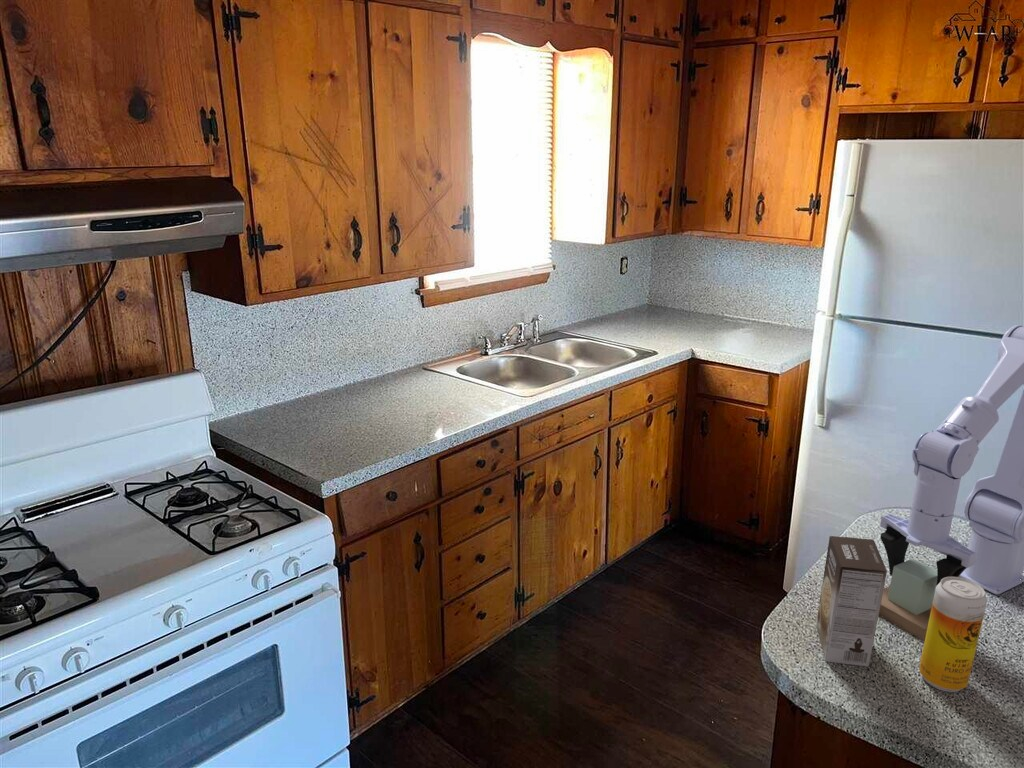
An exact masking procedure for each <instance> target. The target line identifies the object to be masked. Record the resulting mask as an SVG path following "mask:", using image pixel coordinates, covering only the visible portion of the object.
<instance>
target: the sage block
mask: <svg viewBox="0 0 1024 768" xmlns="http://www.w3.org/2000/svg"><path fill="white" fill-rule="evenodd" d="M889 584H890V585H889V586H890V588H889V594H888V600H890V601H892V602H894V603H896V604H897V605H899V606H901V607H903V608H905V609H906V610H908V611H910V612H912V613H913V614H915V615H918V614H920V613H922V612H924V611H926V610H928V609H931V608H932V603H933V599H934V594H935V589H936V584H937V568H933V567H932V566H929V565H927V564H926V563H924V562H921V561H919V560H918V559H915V558H911V559H908V560H906V561H905V560H904V562H903V563H901V564H898V565H896V566H894V568H893V573H892V576H891V578H890V583H889Z"/></svg>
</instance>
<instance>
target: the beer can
mask: <svg viewBox="0 0 1024 768" xmlns="http://www.w3.org/2000/svg"><path fill="white" fill-rule="evenodd" d="M987 603H988V599H987V595H986V591H985V589H984V588H982V587H981V586H980V585H978V584H977V583H975V582H973V581H970V580H967V579H964V578H961V577H945V578H943V579H942V580H941V581H940V583H939V584H938V585H937V586H936V589H935V594H934V599H933V603H932V608H931V613H930V618H929V623H928V628H927V632H926V637H925V639H924V643H923V647H922V654H921V657H920V663H919V668H918V669H919V672H920V675H921V676H922V678H923V680H924V681H925V682H926V683H927V684H929V685H930V686H931V687H933V688H934V689H937V690H939V691H943V692H947V693H957V692H959V691H961V690H963V689H965V688H966V687H968V685H969V681H970V678H971V677H970V675H971V672H972V668H973V664H974V660H975V655H976V650H977V646H978V642H979V637H980V634H981V630H982V625H983V620H984V616H985V611H986V608H987Z"/></svg>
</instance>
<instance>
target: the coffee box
mask: <svg viewBox="0 0 1024 768" xmlns="http://www.w3.org/2000/svg"><path fill="white" fill-rule="evenodd" d="M828 539H829V540H828V545H827V552H826V557H825V565H824V569H823V570H824V571H823V576H822V577H823V578H822V585H821V589H820V597H819V604H818V611H817V615H816V623H815V624H816V626H815V627H816V631H817V635H818V638H819V641H820V646H821V649H822V653H823V657H824V661H825V662H827V663H836V664H842V665H843V664H844V665H853V666H859V667H860V666H861V667H869V666H870V662H871V657H872V652H873V646H874V642H875V641H874V640H875V635H876V631H877V624H878V620H879V616H880V615H879V611H880V606H881V601H882V595H883V590H884V588H885V584H886V579H887V573H888V570H887V568H886V566H885V563H884V561H883V559H882V556H881V553H880V552H879V548H878V546H877V544H876V543H875V539H869V538H859V537H848V536H834V535H829V537H828Z"/></svg>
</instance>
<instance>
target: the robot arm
mask: <svg viewBox="0 0 1024 768" xmlns="http://www.w3.org/2000/svg"><path fill="white" fill-rule="evenodd" d="M997 359H998V360H997V361H998V362H997V363H996V364H995V366H994V367H993V369H992V370H991V371H990V373H989V374H988V376H987V377H986V379H985V381H984V382H983V383H982V385H981V386H980V388H979V389H978V391H977V392H976V393H975V395H973V396H972V395H971V396H965V397H963V398H962V399H961V400H960V401H959V402H958V403H957V405H955V407H954V408H953V409H952V411H951V412H949V414H948V415H947V416H946V417H945V418H944V420H943V421H942V422H941V423H940V424H939V426H937V428H936V429H935V430H931V431H926V432H923V433H922V434H921V435H920V436H919V438H918V439H917V441H916V443H915V446H914V448H913V450H912V453H911V454H912V455H911V456H912V460H913V462H914V469H913V473H914V476H916V479H915V484H914V485H915V486H914V491H913V496H912V499H911V500H912V501H911V506H910V513H909V518H908V519H907V518H904V517H901V516H897V515H894V514H892V513H887V514H886V513H885V514H884V515H881V516H880V517H881V520H880V524H879V527H881V528H883V529H885V530H884V531H883V532H882V533H880V540H881V543H882V544H883V547H884V549H885V552H886V556H887V561H888V563H887V564H888V568H889V569H888V570H889V575H890V576H891V577H892V573H893V568H894V566H896V565H898V564H901V563H903V562H905V559H906V554H907V551H908V547H909V545H910V544H911V545H913V546H915V547H920V546H922V547H925V548H929V549H931V550H933V551H936V552H938V553H940V554H942V555H944V556H945V557H944V558H941V559H938V560H937V561H936V570H937V584H936V586H937V585H938V584H939V583H940V581H941V580H942V579H943V578H945V577H960V578H964V579H967V580H970V581H973V582H975V583H977V584H978V585H980V586H981V587H982V588H983V589H984V590H986V591H988V592H989V593H992V594H994V595H1001V594H1002V593H1004V592H1006V591H1009V590H1010V589H1013V588H1015V587H1017V586H1019V585H1022V582H1023V583H1024V575H1023V573H1024V387H1023V389H1022V391H1021V394H1020V397H1019V399H1018V400H1019V401H1018V403H1017V406H1016V409H1015V413H1014V416H1013V419H1012V421H1011V424H1010V428H1009V430H1008V433H1007V437H1006V440H1005V442H1004V445H1003V448H1002V452H1001V454H1000V456H999V460H998V463H997V466H996V469H995V472H994V474H992V475H989V476H985V477H981V478H979V479H978V480H976V482H975V483H974V486H973V488H972V490H971V492H969V494H968V496H967V498H966V499H965V502H964V505H963V514H964V517H965V520H968V527H970V528H971V534H970V539H969V543H968V547H966V546H965V545H963V544H962V543H961V542H959V541H958V540H956V539H955V538H954V537H953V536H951V535H950V534H951V533H950V531H951V527H952V522H953V518H954V515H955V514H954V513H955V510H956V503H957V499H958V495H959V494H958V493H959V489H960V486H961V485H960V484H961V479H962V478H963V477H964V476H966V474H967V473H968V472H969V471H970V469H971V468H972V466H973V463H974V460H975V458H976V456H977V454H978V452H979V450H980V448H979V445H980V444H981V442H982V441H983V440H984V439H985V437H986V436H987V435H988V434H989V433H990V431H991V430H993V428H994V427H995V425H996V424H997V423H998V422H999V419H1000V418H999V412H998V409H999V408H1000V407H1002V406H1003V405H1004V403H1006V401H1008V399H1009V398H1011V397H1012V395H1014V394H1015V393H1016V392H1017V391H1018V389H1020V388H1021V387H1022V386H1024V325H1020V324H1016V325H1013V326H1011V327H1010V328H1009V329H1008V330H1006V331H1005V333H1004V334H1003V336H1002V337H1001V340H1000V343H999V347H998V351H997ZM1020 579H1021V580H1020Z"/></svg>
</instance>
